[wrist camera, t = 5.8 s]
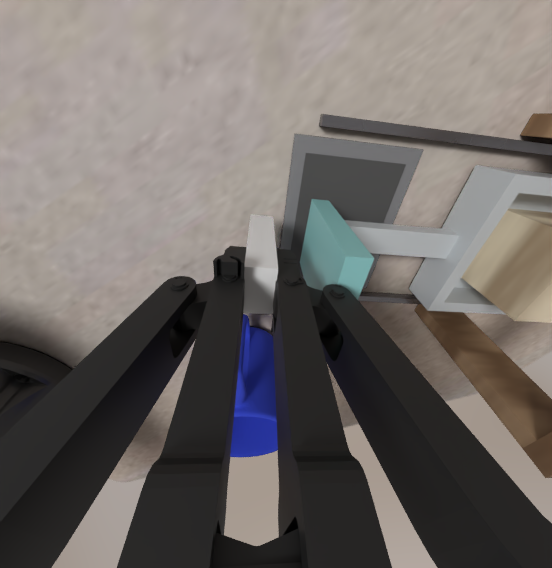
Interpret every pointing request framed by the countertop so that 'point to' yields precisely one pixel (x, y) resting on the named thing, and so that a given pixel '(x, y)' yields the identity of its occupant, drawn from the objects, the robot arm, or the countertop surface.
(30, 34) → the countertop surface
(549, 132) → the tunnel
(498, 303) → the bar
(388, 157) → the pad
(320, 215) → the sled
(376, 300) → the track
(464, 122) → the countertop surface
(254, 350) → the mug
